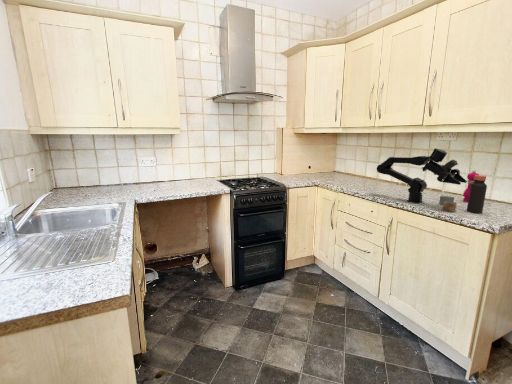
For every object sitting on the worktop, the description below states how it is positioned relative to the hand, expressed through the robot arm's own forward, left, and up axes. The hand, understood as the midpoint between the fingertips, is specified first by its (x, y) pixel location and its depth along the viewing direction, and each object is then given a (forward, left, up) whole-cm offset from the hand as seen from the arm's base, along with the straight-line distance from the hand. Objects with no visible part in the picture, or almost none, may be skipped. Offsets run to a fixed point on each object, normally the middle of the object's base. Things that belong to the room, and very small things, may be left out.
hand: (463, 183), depth 147 cm
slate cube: (-10, +7, -16) cm, 20 cm away
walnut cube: (-2, -7, -16) cm, 17 cm away
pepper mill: (-6, +27, -16) cm, 32 cm away
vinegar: (+6, +3, -16) cm, 17 cm away
